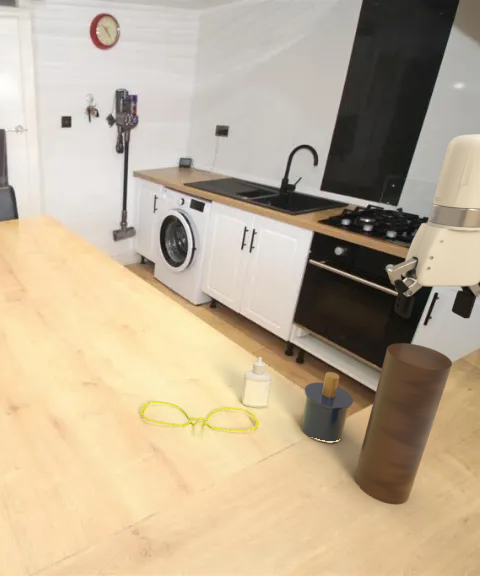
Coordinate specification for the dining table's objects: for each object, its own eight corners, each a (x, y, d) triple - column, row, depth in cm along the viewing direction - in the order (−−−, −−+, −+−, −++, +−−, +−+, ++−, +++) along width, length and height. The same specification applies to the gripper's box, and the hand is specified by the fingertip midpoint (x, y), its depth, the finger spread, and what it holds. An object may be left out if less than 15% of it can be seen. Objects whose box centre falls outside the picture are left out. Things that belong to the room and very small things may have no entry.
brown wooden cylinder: (390, 468, 75) (427, 343, 66) (420, 505, 68) (466, 369, 59) (345, 467, 76) (376, 342, 67) (370, 503, 68) (408, 369, 59)
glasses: (254, 412, 91) (256, 394, 89) (263, 443, 82) (266, 424, 80) (141, 403, 95) (142, 385, 94) (138, 431, 86) (139, 412, 84)
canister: (331, 419, 89) (338, 385, 86) (350, 444, 81) (358, 408, 78) (294, 418, 89) (300, 385, 86) (309, 443, 82) (317, 408, 79)
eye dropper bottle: (263, 413, 91) (269, 366, 87) (238, 403, 94) (243, 357, 90) (269, 403, 94) (276, 357, 90) (245, 394, 98) (251, 350, 93)
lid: (339, 384, 86) (343, 363, 84) (362, 410, 78) (367, 388, 76) (297, 384, 87) (301, 363, 85) (315, 409, 78) (320, 387, 77)
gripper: (496, 212, 68) (465, 306, 74) (388, 213, 69) (366, 306, 75) (539, 221, 61) (502, 324, 67) (418, 222, 62) (392, 324, 68)
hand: (430, 315), depth 71 cm, fingers open, 9 cm apart
